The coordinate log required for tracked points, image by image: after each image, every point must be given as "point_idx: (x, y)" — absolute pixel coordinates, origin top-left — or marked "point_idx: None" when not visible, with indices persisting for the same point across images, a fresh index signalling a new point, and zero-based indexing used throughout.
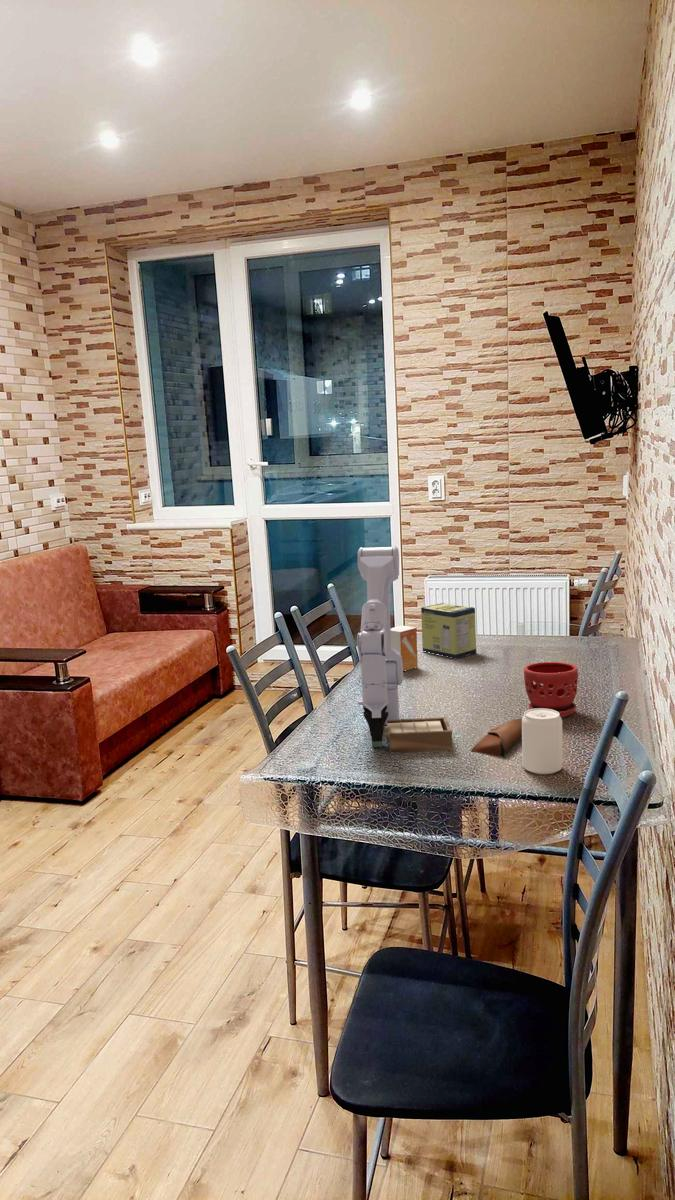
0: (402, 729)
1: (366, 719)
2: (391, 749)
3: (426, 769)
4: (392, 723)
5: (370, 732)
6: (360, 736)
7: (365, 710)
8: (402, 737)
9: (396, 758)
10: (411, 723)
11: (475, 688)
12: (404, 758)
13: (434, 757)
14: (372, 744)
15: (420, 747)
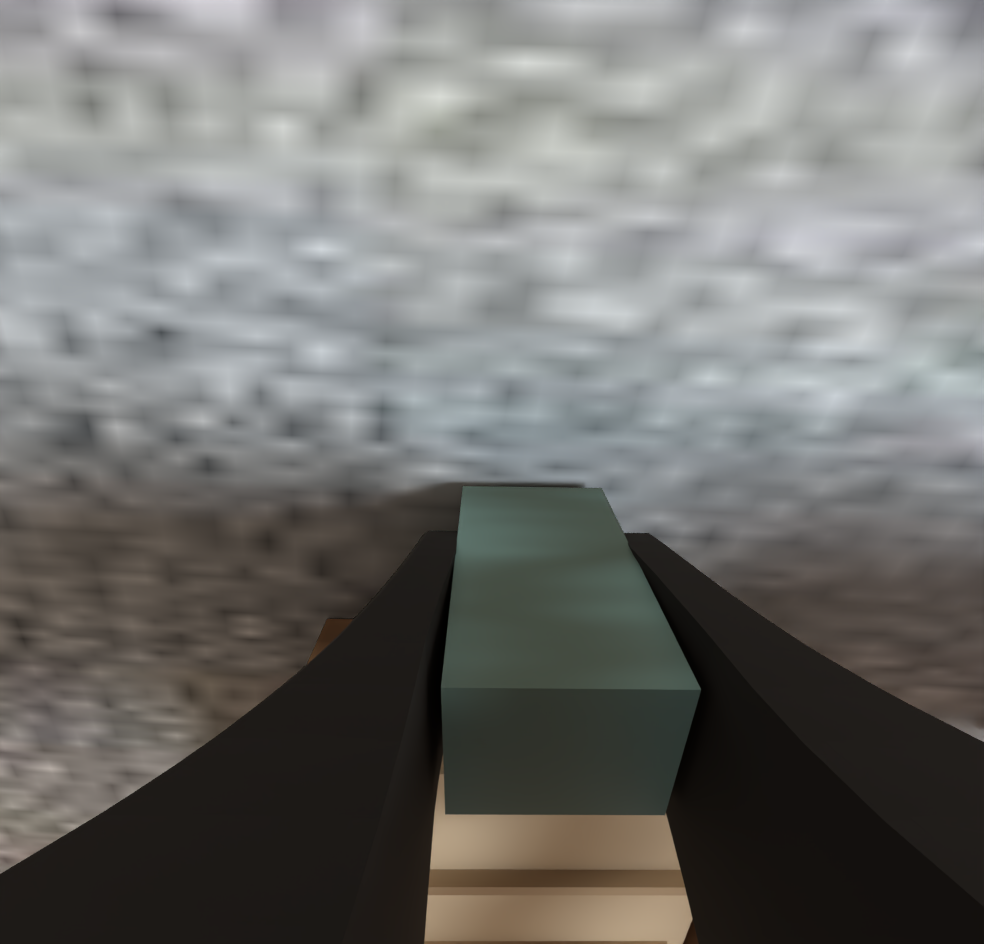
0: (434, 891)
1: (35, 865)
2: (318, 650)
3: (19, 788)
4: None
5: (380, 592)
6: (876, 374)
7: (962, 938)
8: None
9: (202, 649)
10: (646, 932)
11: None
12: (209, 696)
13: None
14: (461, 504)
15: None
